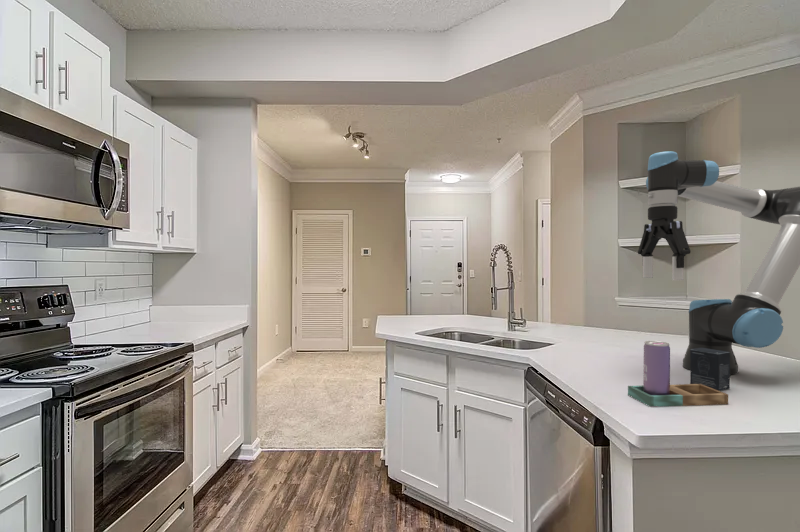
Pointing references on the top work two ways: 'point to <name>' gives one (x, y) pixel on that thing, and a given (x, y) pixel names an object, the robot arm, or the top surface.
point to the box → (710, 368)
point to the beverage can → (656, 368)
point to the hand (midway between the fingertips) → (662, 278)
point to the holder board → (681, 396)
